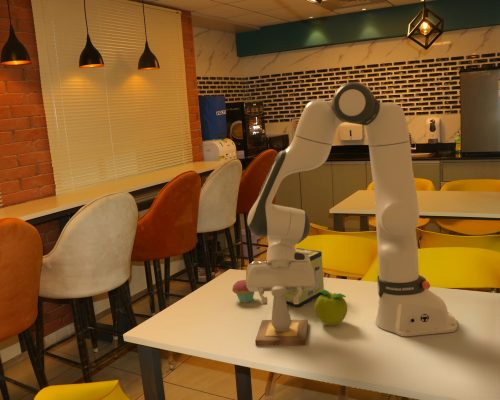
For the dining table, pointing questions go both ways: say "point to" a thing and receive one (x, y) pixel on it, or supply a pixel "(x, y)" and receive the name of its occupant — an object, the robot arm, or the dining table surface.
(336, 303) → the fruit
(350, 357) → the dining table surface
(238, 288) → the cupcake
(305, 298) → the protein box
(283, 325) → the salt shaker
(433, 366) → the dining table surface
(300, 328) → the base board
